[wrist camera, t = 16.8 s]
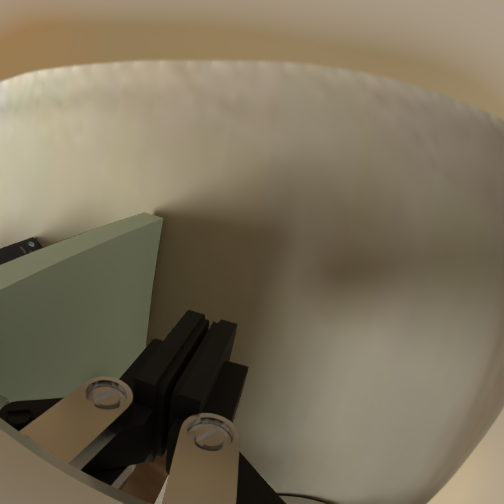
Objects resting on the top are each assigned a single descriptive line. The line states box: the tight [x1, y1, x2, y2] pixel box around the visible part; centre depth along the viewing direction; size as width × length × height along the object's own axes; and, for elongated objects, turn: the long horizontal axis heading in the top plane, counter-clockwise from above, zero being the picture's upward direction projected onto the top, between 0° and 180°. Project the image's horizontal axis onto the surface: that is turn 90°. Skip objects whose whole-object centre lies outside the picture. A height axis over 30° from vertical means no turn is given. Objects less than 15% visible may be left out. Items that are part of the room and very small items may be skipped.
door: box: [0, 213, 163, 403], centre depth 14 cm, size 19×3×12 cm, turn 166°
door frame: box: [118, 450, 168, 504], centre depth 15 cm, size 25×3×14 cm, turn 51°
